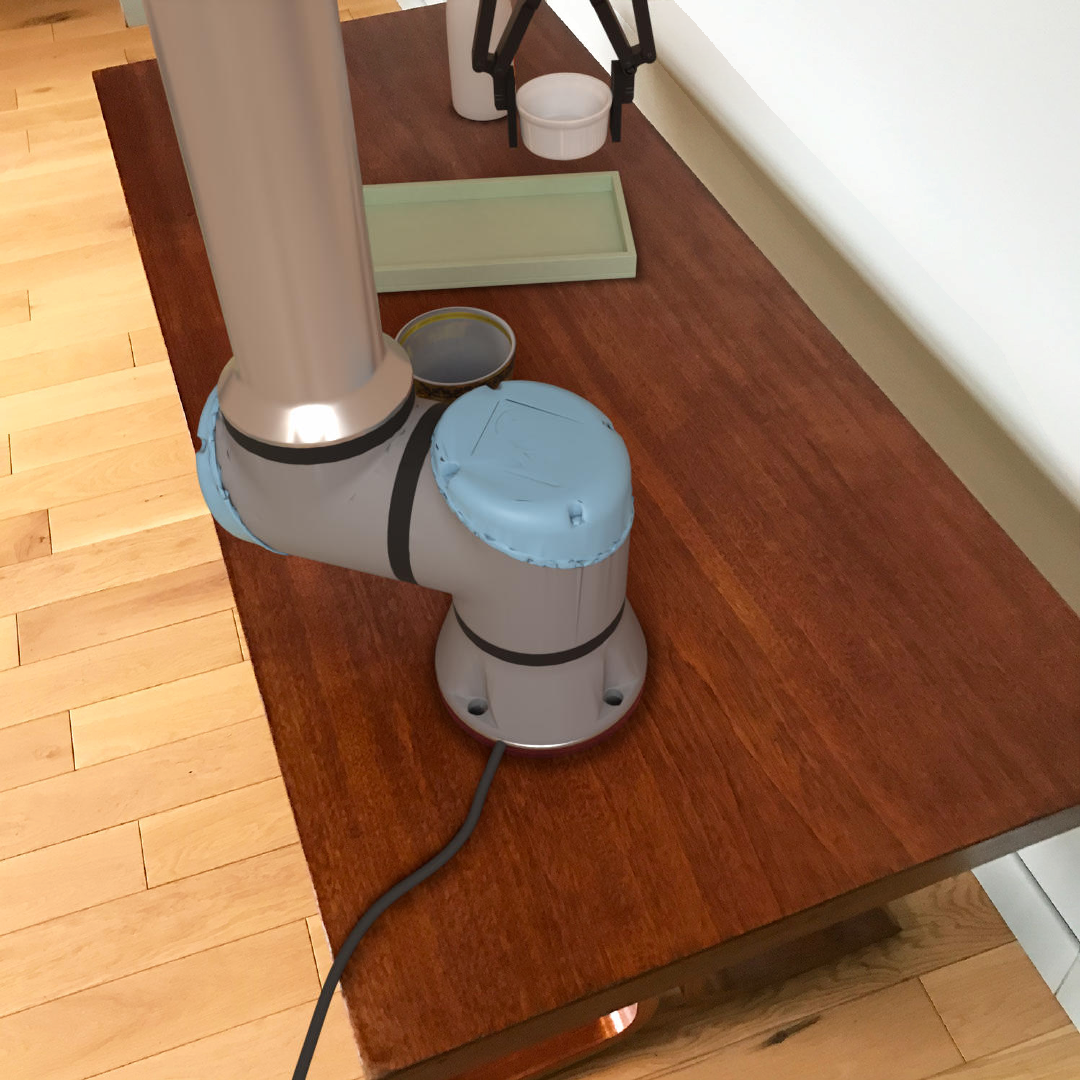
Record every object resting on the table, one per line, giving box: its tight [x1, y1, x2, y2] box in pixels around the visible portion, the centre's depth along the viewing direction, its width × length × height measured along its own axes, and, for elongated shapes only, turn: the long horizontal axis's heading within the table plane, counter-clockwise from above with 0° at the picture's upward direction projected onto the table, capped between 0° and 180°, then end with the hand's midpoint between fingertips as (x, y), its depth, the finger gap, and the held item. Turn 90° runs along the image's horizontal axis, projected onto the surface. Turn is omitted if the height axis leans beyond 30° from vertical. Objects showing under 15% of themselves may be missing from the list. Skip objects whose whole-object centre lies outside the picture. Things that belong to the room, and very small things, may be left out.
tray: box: [362, 170, 638, 294], centre depth 116 cm, size 16×30×3 cm, turn 94°
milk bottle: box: [445, 0, 517, 122], centre depth 127 cm, size 8×8×20 cm
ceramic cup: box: [394, 306, 517, 404], centre depth 93 cm, size 13×10×10 cm
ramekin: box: [516, 72, 613, 161], centre depth 103 cm, size 9×9×4 cm
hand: (563, 137), depth 104 cm, fingers closed on ramekin, 9 cm apart
